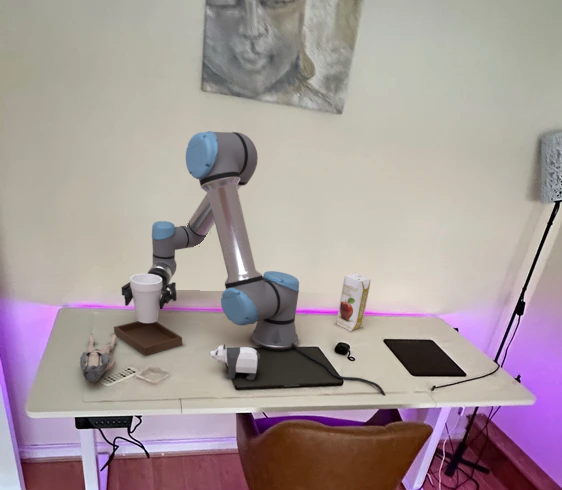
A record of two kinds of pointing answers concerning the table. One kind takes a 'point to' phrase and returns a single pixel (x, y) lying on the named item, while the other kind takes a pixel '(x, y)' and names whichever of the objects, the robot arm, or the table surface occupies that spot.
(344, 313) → the juice carton
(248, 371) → the giant panda
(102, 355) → the anime figure
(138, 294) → the foam cup
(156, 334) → the tray
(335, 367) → the table surface
